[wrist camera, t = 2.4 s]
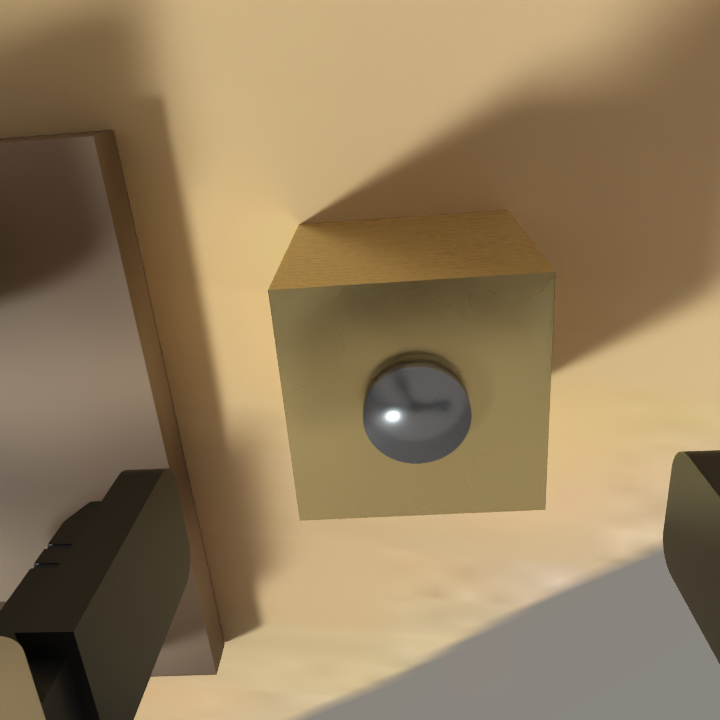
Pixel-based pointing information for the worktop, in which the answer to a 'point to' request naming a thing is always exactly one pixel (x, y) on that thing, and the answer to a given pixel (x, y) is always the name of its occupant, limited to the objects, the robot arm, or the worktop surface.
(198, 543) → the rig
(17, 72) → the worktop surface
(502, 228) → the joint block
